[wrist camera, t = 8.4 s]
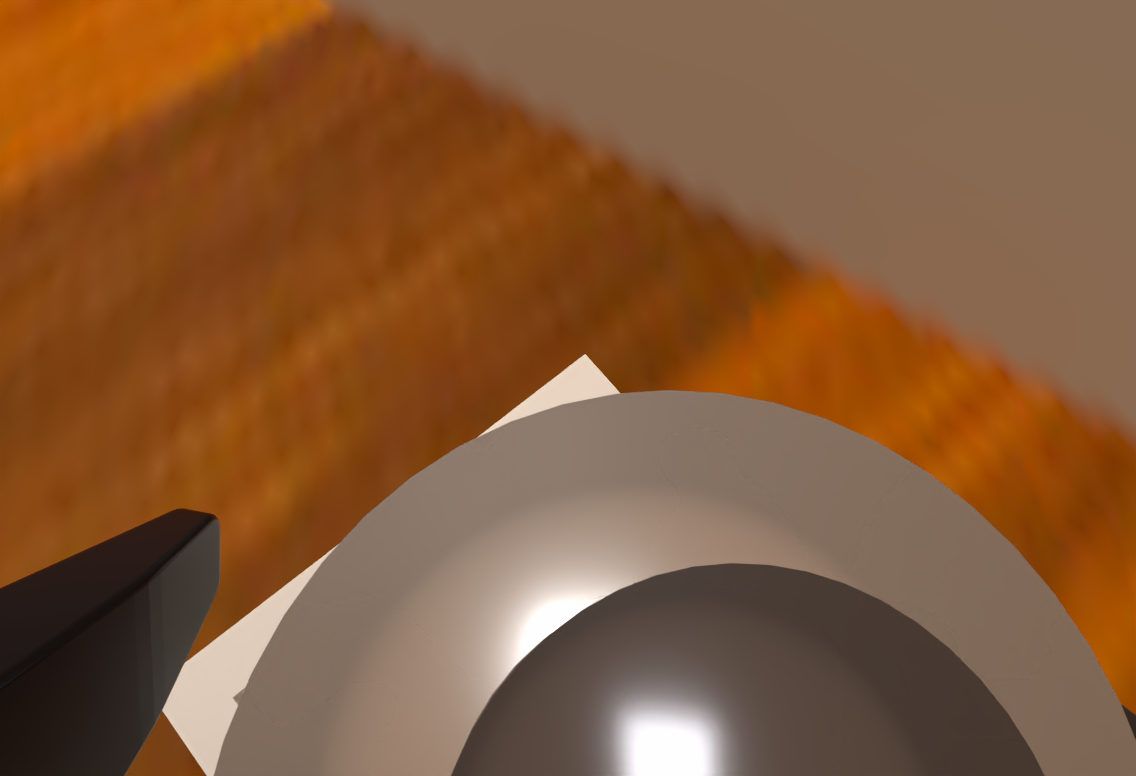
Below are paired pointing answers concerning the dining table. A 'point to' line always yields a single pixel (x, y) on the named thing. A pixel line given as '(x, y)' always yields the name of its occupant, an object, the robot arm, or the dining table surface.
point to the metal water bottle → (676, 616)
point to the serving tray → (229, 660)
